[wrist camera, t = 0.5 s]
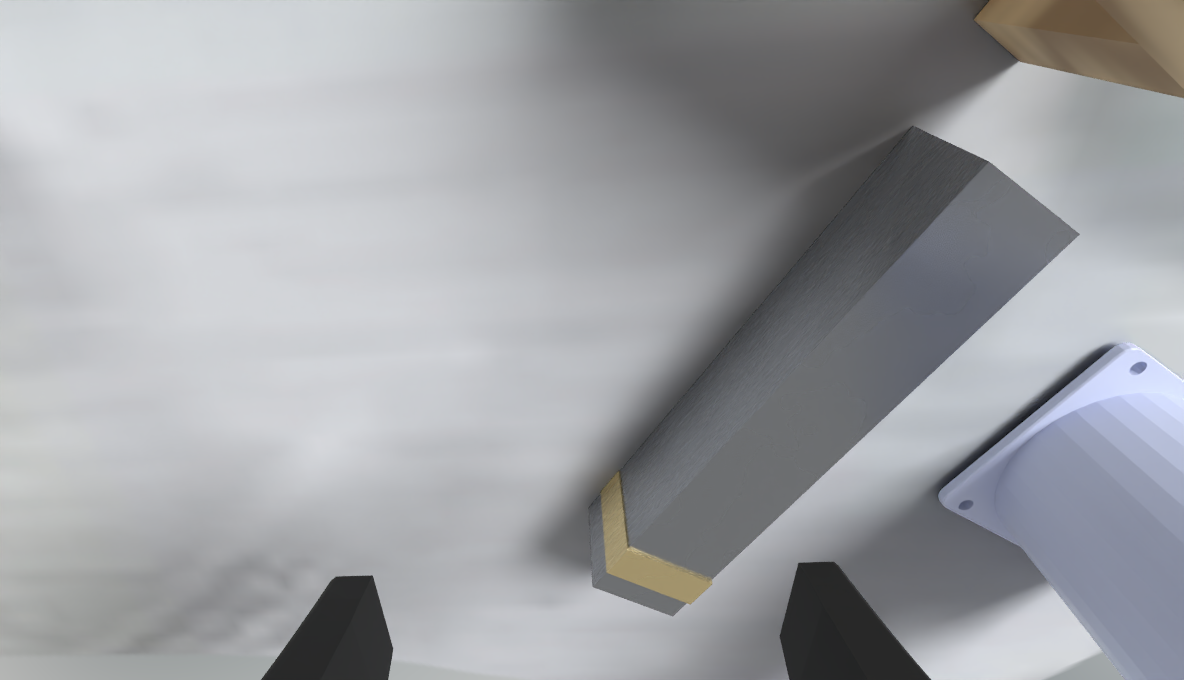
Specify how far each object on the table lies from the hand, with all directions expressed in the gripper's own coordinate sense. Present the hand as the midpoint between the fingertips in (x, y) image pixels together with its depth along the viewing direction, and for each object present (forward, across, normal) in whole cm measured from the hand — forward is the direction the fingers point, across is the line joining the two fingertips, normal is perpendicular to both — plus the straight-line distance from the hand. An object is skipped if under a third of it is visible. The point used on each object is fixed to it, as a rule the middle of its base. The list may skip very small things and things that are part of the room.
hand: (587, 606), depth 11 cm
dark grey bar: (+10, -6, +2) cm, 11 cm away
